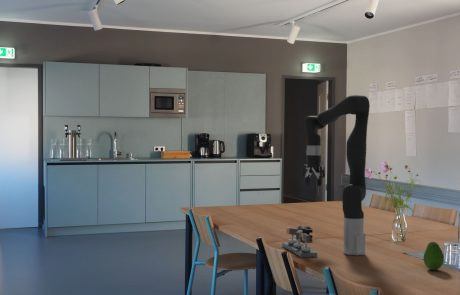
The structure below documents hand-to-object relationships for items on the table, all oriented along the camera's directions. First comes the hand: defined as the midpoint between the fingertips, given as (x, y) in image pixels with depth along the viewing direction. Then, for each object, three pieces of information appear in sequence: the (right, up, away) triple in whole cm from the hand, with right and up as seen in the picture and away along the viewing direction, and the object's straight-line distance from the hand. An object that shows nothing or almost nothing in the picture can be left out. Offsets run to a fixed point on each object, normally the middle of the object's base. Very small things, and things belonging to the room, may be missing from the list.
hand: (313, 185), depth 289 cm
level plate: (-10, -31, -21) cm, 38 cm away
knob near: (-8, -29, -30) cm, 42 cm away
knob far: (-12, -28, -12) cm, 33 cm away
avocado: (+42, -32, -56) cm, 77 cm away
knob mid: (-10, -28, -21) cm, 37 cm away
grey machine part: (-3, -30, +11) cm, 32 cm away
